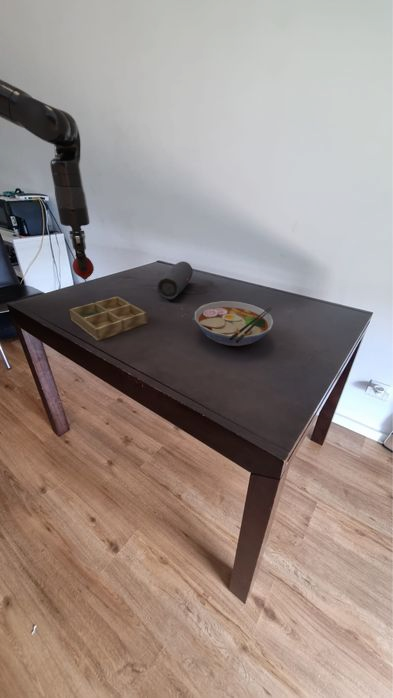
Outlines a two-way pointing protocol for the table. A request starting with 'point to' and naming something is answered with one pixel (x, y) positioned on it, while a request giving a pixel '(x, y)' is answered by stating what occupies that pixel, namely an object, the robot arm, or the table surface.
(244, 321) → the ramen bowl
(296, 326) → the table surface
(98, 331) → the compartment tray
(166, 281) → the bluetooth speaker
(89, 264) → the onion
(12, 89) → the robot arm
